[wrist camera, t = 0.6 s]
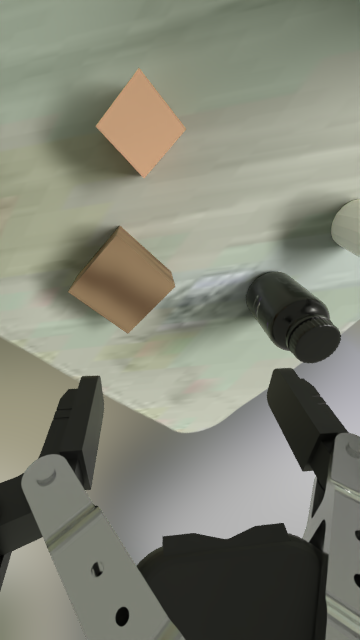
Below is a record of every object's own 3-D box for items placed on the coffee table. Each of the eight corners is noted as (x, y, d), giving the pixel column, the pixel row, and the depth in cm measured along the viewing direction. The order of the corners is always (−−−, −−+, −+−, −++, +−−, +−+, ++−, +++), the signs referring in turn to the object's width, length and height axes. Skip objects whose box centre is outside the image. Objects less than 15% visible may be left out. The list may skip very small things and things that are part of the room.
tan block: (139, 87, 25) (138, 67, 19) (177, 135, 27) (186, 128, 22) (104, 133, 26) (95, 126, 21) (143, 175, 28) (144, 178, 23)
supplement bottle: (234, 294, 36) (271, 345, 26) (276, 259, 35) (334, 299, 24) (262, 324, 39) (305, 381, 29) (301, 293, 38) (362, 342, 27)
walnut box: (119, 225, 30) (116, 235, 26) (170, 271, 34) (175, 286, 30) (77, 275, 33) (68, 291, 28) (129, 313, 36) (127, 333, 32)
